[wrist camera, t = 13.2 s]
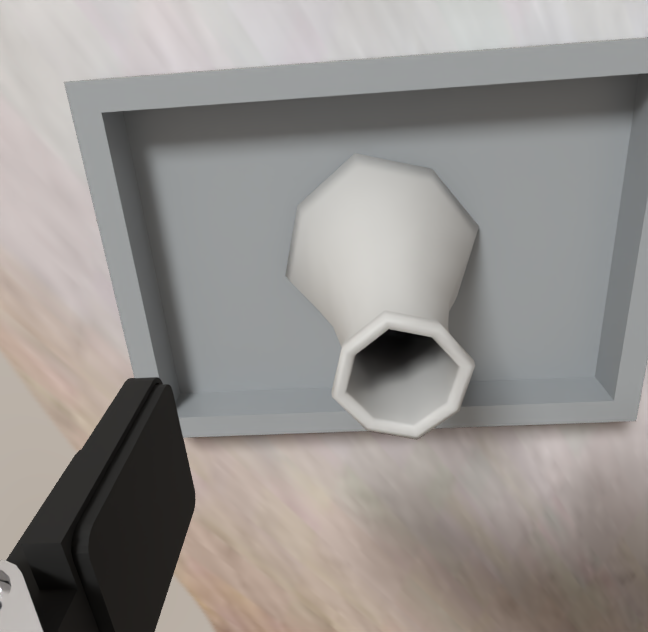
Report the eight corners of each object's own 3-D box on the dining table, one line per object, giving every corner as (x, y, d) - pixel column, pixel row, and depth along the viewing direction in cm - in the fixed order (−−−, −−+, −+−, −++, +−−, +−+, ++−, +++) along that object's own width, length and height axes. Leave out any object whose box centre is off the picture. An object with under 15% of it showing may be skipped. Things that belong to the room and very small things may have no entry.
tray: (95, 79, 21) (63, 81, 18) (666, 36, 19) (708, 32, 17) (166, 405, 26) (149, 438, 24) (609, 388, 25) (636, 421, 23)
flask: (511, 215, 22) (632, 331, 12) (407, 360, 24) (444, 542, 15) (345, 116, 20) (345, 163, 11) (255, 281, 23) (196, 427, 14)
